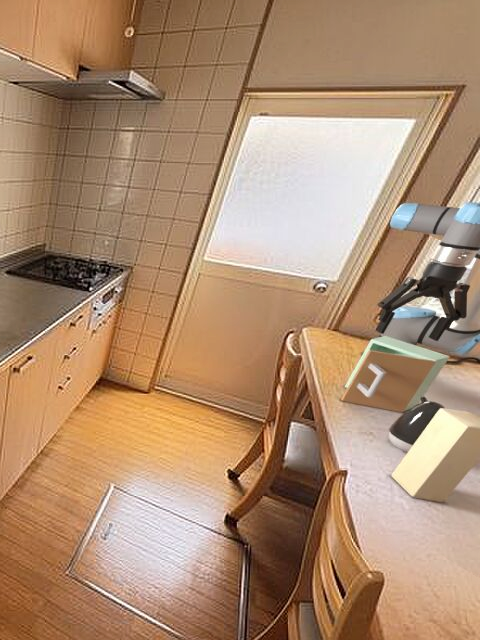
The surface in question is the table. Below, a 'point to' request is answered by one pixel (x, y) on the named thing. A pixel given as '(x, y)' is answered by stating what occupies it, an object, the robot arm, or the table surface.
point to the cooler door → (387, 380)
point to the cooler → (409, 350)
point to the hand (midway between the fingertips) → (405, 335)
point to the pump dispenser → (412, 424)
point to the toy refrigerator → (441, 455)
